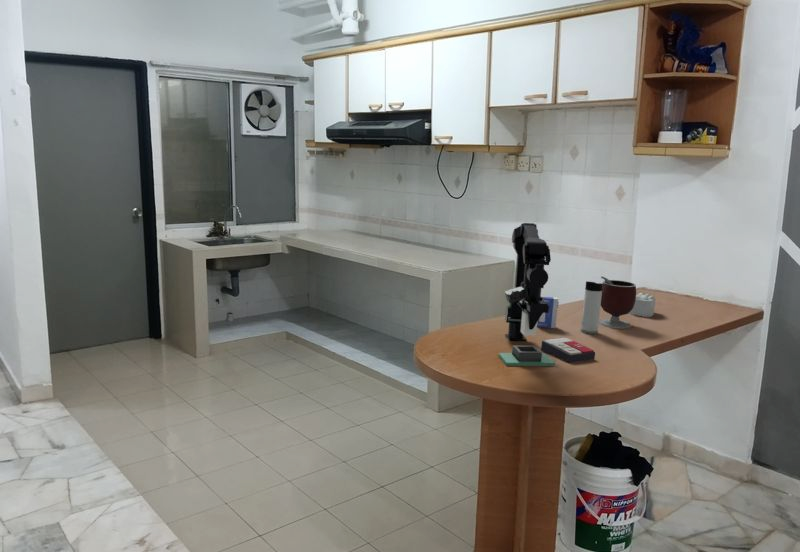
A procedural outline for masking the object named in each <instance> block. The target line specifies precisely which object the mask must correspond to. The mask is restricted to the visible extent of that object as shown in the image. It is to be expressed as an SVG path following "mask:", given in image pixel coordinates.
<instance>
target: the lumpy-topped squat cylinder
mask: <svg viewBox="0 0 800 552" xmlns="http://www.w3.org/2000/svg"><path fill="white" fill-rule="evenodd" d="M655 306H656V298H655V296H654V295H651V294H650V293H646V294H645V293H643V292H640V293H638V294H637V293H636V300H635V304H634V307H633V309H632V310H631V311H630V312H629V313H628V314H627V315H630V314H631V315H630V316H636V315H637V317H641V316H642V317H643V318H651V317H653V316H654V314H655V309H656V308H655Z"/></svg>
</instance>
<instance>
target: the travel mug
mask: <svg viewBox="0 0 800 552" xmlns="http://www.w3.org/2000/svg"><path fill="white" fill-rule="evenodd" d="M602 285H603V284H602V283H601V282H599V283H598V282H595V281H589V280H588V281H585V288H584V297H583V305H582V308H583V309H582V316H581V325H580V331H581V333H585V334H588V335H595V334H598V331H599V325H600V323H599V320H600V316H601V315H600V314H601V296H602Z"/></svg>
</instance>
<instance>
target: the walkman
mask: <svg viewBox="0 0 800 552" xmlns="http://www.w3.org/2000/svg"><path fill="white" fill-rule="evenodd" d="M541 297H542V298H543V299H542V301H544V302H545V303H547V304H548V306H549V307H550V308H549V313H543V314H542V315H541V317H540V318H539V320H538V325H537V328H550V329H556V327H557V319H558V318H557V317H558V316H557V315H558V309H559V297H555V296H554V297H551V296H541Z"/></svg>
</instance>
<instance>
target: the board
mask: <svg viewBox="0 0 800 552" xmlns="http://www.w3.org/2000/svg"><path fill="white" fill-rule="evenodd" d="M498 357H499V359H500V360H501V361H502V362H503V363H504V365H505V366H506V367H507V366H509V367H510V366H513V367H515V366H517V367H519V366H521V367H525V366H526V367H527V366H528V367H529V366H530V367H555V366H556V362H555V361H554V360H553V359H552V358H551V357H549V355H547V353H546V352H543V351H542V350H541V349H539V348H538V347H537V346H536V345H512V352H498Z"/></svg>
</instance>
